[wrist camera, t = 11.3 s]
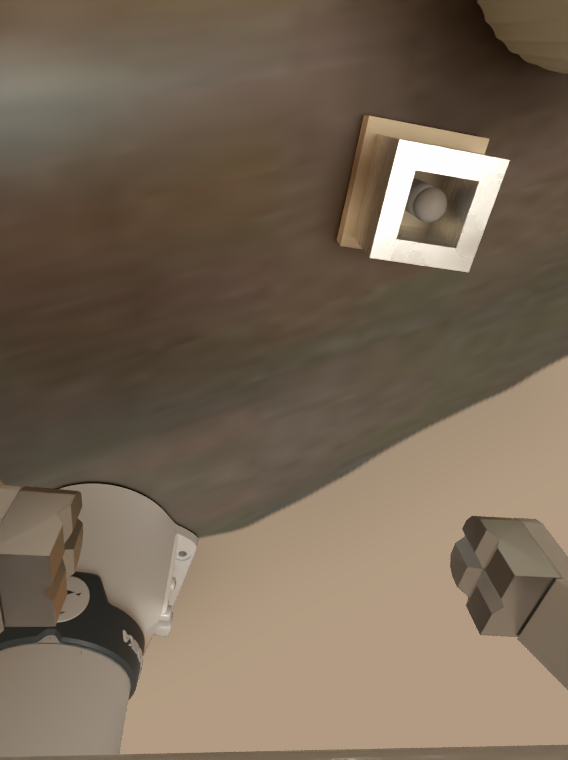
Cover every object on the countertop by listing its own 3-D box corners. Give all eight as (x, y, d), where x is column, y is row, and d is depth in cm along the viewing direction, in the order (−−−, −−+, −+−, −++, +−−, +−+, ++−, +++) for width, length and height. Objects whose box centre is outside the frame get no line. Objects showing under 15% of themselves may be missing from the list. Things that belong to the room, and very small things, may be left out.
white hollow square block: (439, 250, 34) (468, 272, 29) (352, 236, 33) (369, 257, 28) (472, 151, 30) (509, 160, 26) (376, 133, 29) (399, 139, 25)
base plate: (440, 256, 35) (474, 282, 30) (336, 240, 34) (353, 265, 29) (479, 137, 31) (525, 144, 26) (363, 115, 30) (388, 118, 25)
